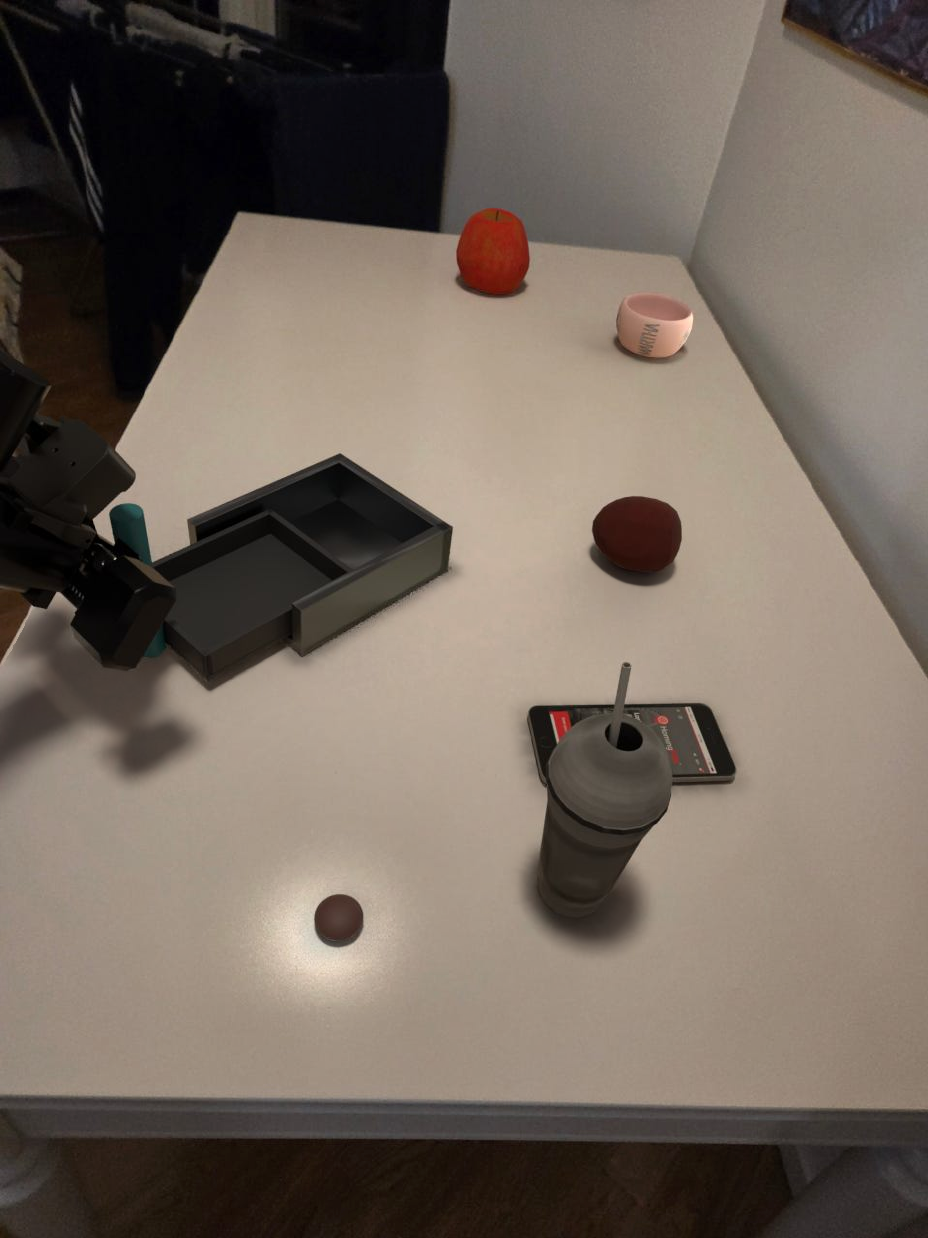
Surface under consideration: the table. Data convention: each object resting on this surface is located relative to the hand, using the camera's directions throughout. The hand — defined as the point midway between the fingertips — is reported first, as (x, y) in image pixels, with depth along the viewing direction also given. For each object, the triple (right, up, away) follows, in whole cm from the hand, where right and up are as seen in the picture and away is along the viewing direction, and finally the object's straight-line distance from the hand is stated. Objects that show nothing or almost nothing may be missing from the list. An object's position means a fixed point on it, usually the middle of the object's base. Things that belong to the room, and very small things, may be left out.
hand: (158, 582), depth 65 cm
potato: (+38, +3, +20) cm, 43 cm away
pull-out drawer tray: (+10, +2, +14) cm, 17 cm away
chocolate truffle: (+15, -22, -11) cm, 28 cm away
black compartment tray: (+3, -2, +8) cm, 8 cm away
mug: (+48, +35, +56) cm, 81 cm away
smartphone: (+35, -13, +2) cm, 38 cm away
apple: (+26, +47, +66) cm, 85 cm away
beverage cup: (+30, -20, -7) cm, 37 cm away
